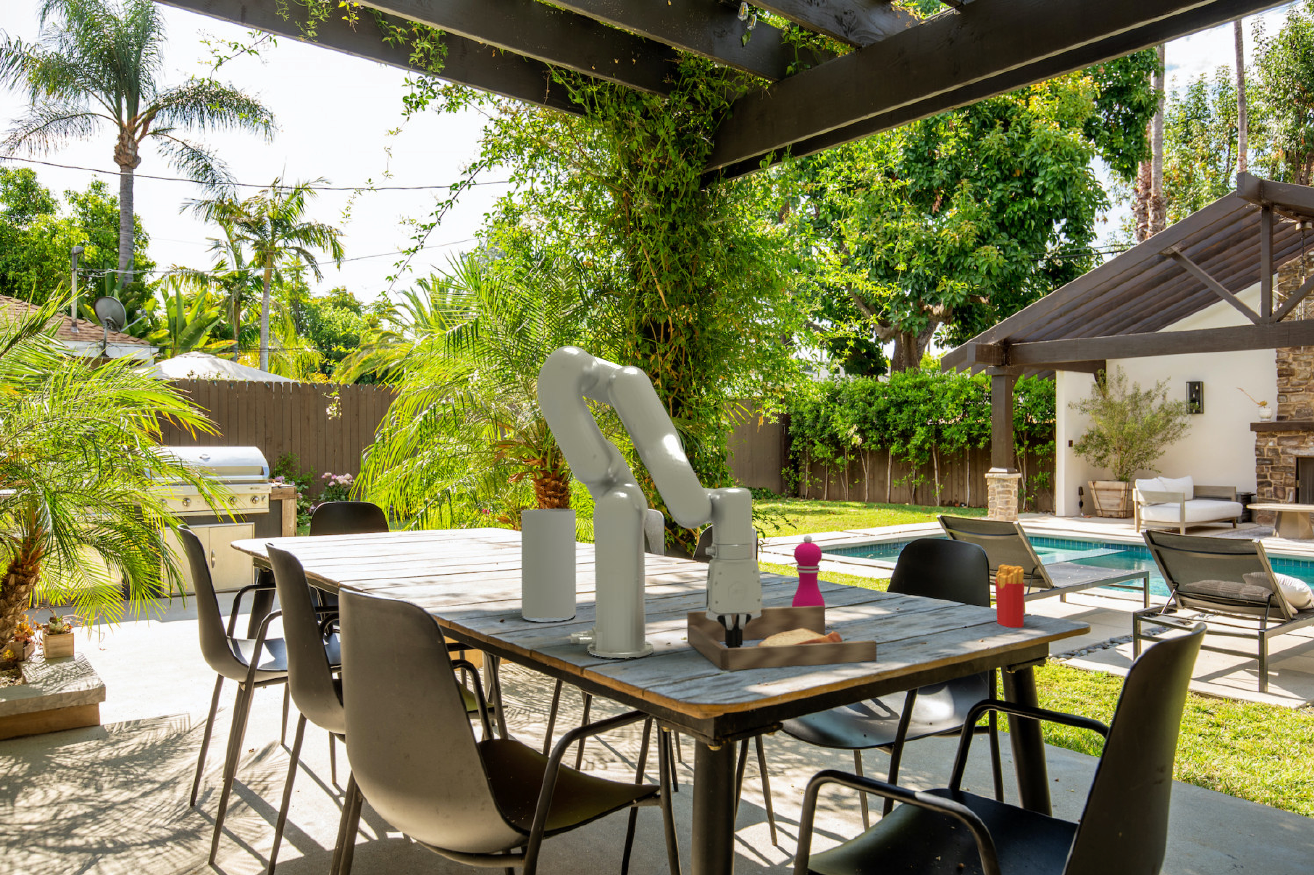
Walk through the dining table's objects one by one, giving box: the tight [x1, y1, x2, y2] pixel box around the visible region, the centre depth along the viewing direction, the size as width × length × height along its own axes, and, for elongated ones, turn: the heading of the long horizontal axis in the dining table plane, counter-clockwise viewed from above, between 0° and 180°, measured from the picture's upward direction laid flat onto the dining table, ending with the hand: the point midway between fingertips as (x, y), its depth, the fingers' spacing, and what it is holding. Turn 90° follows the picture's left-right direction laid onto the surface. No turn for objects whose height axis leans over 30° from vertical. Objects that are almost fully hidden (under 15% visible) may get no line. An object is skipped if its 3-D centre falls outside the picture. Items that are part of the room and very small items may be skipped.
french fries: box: [994, 563, 1025, 629], centre depth 192 cm, size 9×4×13 cm, turn 2°
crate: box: [686, 605, 878, 671], centre depth 167 cm, size 29×24×6 cm
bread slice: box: [756, 628, 843, 647], centre depth 168 cm, size 18×18×4 cm
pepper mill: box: [791, 535, 826, 607], centre depth 190 cm, size 7×7×20 cm
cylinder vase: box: [521, 508, 577, 619], centre depth 203 cm, size 12×12×25 cm
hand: (734, 649), depth 165 cm, fingers closed
